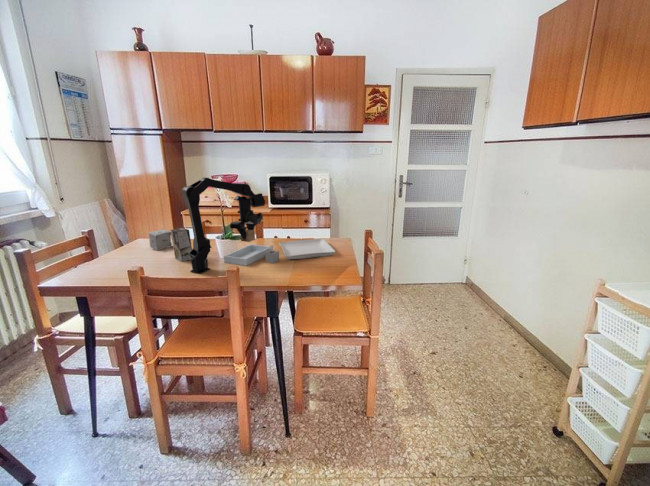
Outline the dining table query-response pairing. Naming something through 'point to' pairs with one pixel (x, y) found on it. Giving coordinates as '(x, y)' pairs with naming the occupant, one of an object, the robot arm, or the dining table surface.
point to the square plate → (306, 248)
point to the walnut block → (249, 236)
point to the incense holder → (160, 239)
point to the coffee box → (181, 244)
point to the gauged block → (272, 255)
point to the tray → (246, 255)
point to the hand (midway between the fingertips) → (247, 238)
